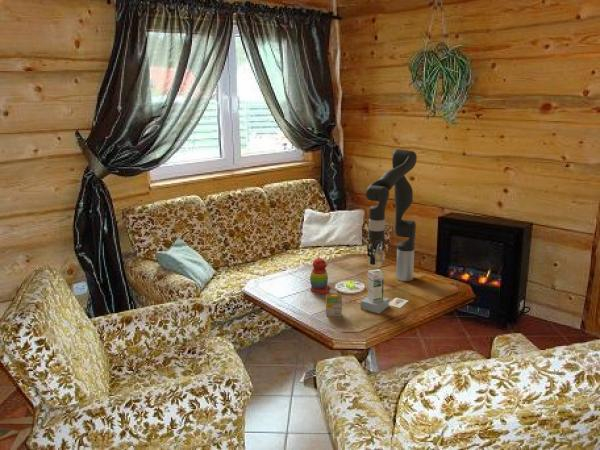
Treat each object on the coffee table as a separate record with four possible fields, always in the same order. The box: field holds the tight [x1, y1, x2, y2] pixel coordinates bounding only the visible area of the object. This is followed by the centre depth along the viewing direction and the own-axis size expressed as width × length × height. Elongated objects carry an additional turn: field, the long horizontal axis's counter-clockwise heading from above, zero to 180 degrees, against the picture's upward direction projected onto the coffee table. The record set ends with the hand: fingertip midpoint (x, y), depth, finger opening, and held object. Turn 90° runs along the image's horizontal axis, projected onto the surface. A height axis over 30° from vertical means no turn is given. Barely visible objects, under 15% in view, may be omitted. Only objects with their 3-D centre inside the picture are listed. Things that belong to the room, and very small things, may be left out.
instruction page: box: [389, 297, 409, 309], centre depth 249 cm, size 10×7×1 cm
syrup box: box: [367, 268, 385, 302], centre depth 242 cm, size 6×6×14 cm
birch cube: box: [366, 250, 386, 269], centre depth 238 cm, size 6×6×6 cm
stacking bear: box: [309, 256, 331, 296], centre depth 264 cm, size 11×10×18 cm
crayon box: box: [325, 292, 343, 317], centre depth 236 cm, size 7×3×12 cm, turn 92°
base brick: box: [360, 295, 390, 314], centre depth 244 cm, size 10×10×4 cm
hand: (375, 262), depth 238 cm, fingers closed on birch cube, 6 cm apart
